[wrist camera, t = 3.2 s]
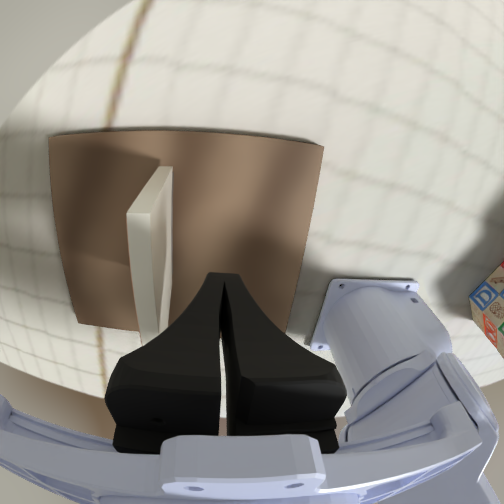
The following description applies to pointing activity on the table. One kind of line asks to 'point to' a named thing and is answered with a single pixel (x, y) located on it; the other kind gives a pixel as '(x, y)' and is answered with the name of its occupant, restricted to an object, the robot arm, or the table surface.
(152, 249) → the tile
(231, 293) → the robot arm
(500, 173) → the table surface
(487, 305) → the stack of blocks
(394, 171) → the table surface
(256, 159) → the board
